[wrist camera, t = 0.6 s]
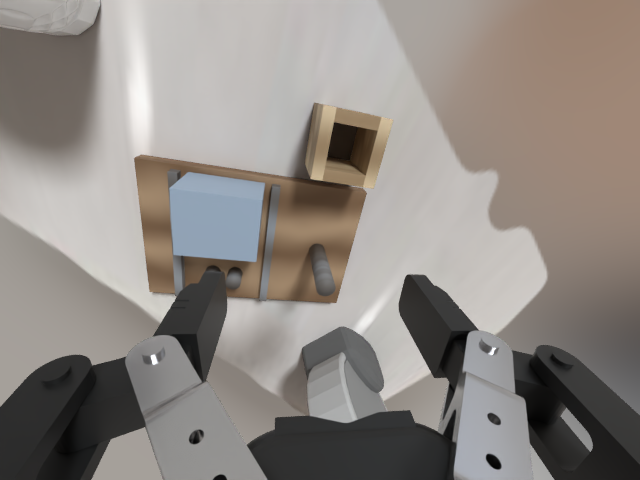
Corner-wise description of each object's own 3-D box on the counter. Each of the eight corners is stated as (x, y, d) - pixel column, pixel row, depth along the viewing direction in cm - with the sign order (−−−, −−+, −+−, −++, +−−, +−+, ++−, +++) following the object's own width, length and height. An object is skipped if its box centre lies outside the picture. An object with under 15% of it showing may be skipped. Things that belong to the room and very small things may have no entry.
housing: (188, 171, 25) (169, 188, 21) (265, 182, 26) (262, 200, 22) (190, 229, 28) (173, 254, 23) (259, 236, 29) (256, 262, 25)
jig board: (141, 154, 25) (85, 179, 18) (362, 188, 30) (390, 219, 22) (154, 283, 32) (117, 341, 25) (334, 295, 36) (348, 346, 29)
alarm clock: (285, 346, 40) (290, 513, 24) (345, 313, 38) (392, 468, 22) (339, 395, 47) (369, 547, 31) (390, 369, 46) (449, 516, 30)
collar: (314, 102, 25) (323, 104, 20) (370, 114, 26) (393, 119, 21) (304, 162, 28) (310, 178, 22) (356, 171, 29) (373, 188, 24)
